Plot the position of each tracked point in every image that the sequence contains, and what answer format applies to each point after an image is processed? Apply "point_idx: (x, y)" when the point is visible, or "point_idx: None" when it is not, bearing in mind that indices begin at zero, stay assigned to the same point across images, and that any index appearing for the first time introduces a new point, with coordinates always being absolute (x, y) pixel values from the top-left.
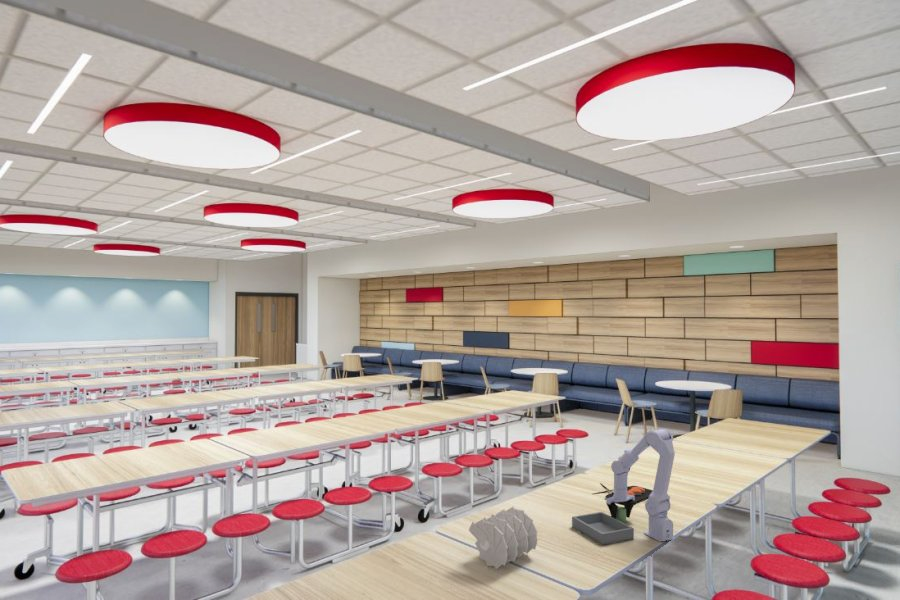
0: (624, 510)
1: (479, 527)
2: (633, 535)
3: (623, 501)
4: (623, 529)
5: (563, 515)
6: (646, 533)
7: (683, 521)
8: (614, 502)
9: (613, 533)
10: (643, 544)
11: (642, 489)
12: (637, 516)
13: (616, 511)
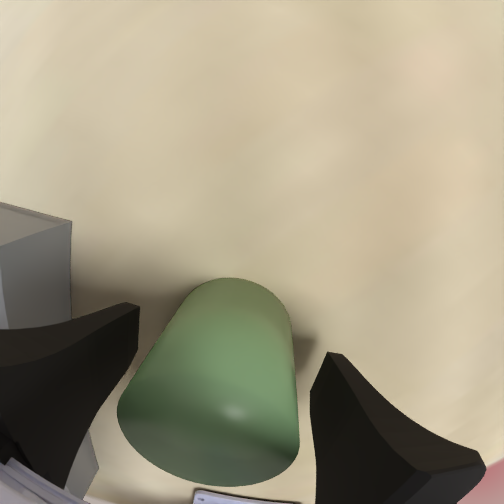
0: (198, 479)
1: None
2: (91, 480)
3: (401, 462)
4: None
5: (5, 4)
6: (196, 500)
7: (500, 456)
8: (15, 484)
9: None
10: (109, 493)
11: None
12: (475, 330)
13: (84, 426)
